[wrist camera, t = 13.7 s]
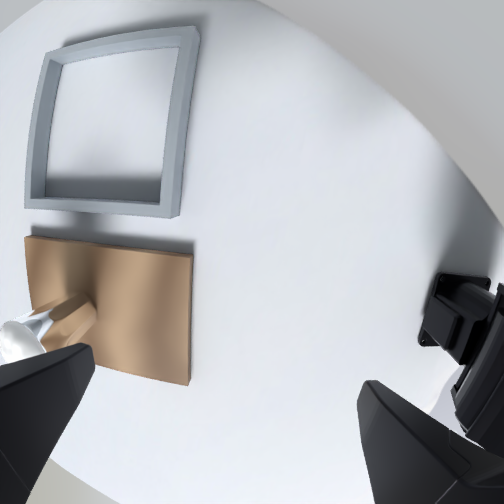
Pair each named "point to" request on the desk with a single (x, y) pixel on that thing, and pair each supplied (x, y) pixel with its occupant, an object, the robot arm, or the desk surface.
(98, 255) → the board
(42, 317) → the milkshake
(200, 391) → the desk surface
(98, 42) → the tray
